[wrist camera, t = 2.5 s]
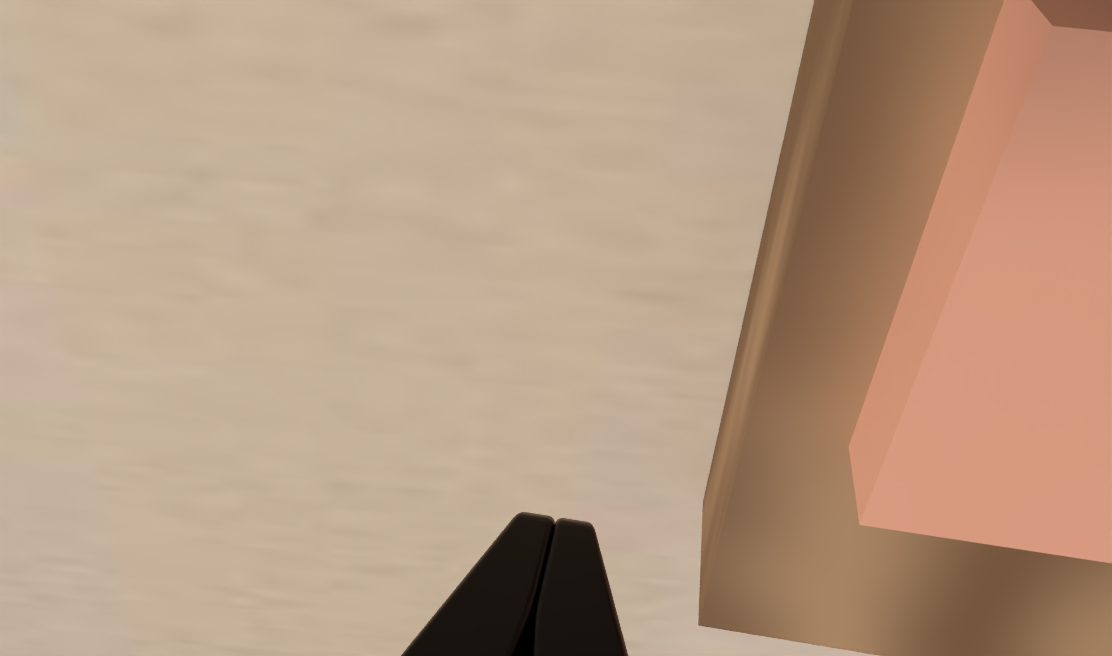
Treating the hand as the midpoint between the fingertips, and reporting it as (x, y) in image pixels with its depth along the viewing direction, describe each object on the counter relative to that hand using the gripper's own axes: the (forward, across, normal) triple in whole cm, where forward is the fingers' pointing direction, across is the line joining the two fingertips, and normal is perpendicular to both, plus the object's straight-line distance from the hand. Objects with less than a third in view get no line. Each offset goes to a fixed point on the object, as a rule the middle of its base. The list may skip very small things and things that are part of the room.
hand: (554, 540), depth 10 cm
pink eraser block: (+7, -8, 0) cm, 11 cm away
